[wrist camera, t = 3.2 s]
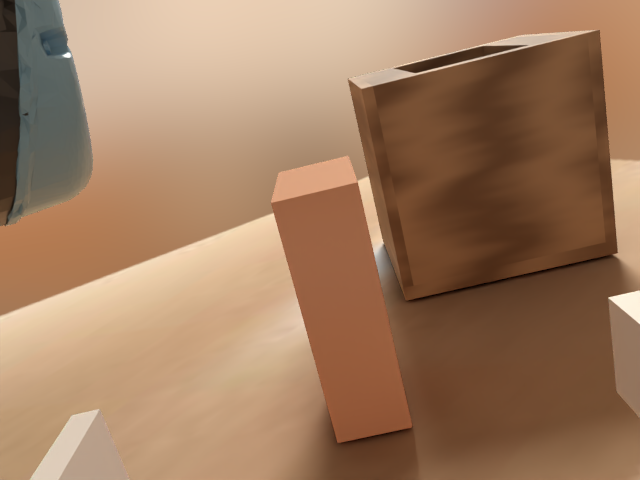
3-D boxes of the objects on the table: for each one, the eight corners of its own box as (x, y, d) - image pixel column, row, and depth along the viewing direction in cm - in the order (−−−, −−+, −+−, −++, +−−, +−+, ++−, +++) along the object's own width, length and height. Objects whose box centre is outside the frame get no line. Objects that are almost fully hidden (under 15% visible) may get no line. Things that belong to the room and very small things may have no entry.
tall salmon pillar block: (337, 443, 23) (270, 203, 19) (332, 374, 27) (278, 172, 24) (412, 427, 22) (357, 182, 19) (394, 361, 27) (348, 155, 24)
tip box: (405, 300, 33) (361, 88, 29) (382, 239, 43) (347, 78, 39) (617, 253, 32) (599, 29, 28) (542, 202, 42) (521, 35, 39)
